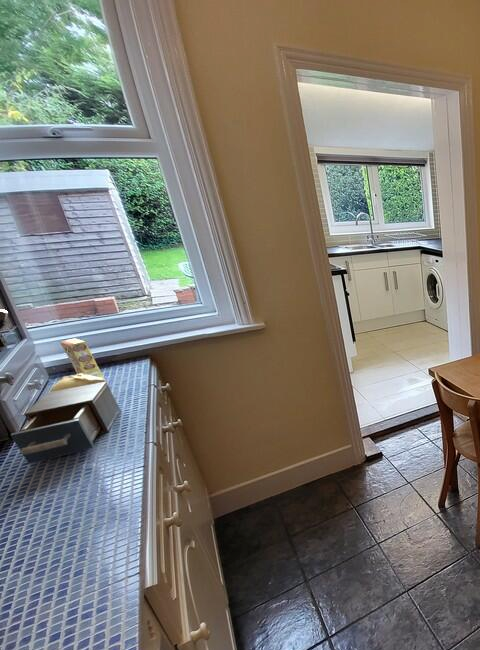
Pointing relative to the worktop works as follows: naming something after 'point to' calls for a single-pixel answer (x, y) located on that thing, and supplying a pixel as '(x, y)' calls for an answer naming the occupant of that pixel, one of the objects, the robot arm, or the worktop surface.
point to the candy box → (81, 357)
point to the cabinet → (81, 403)
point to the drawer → (58, 433)
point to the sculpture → (76, 381)
